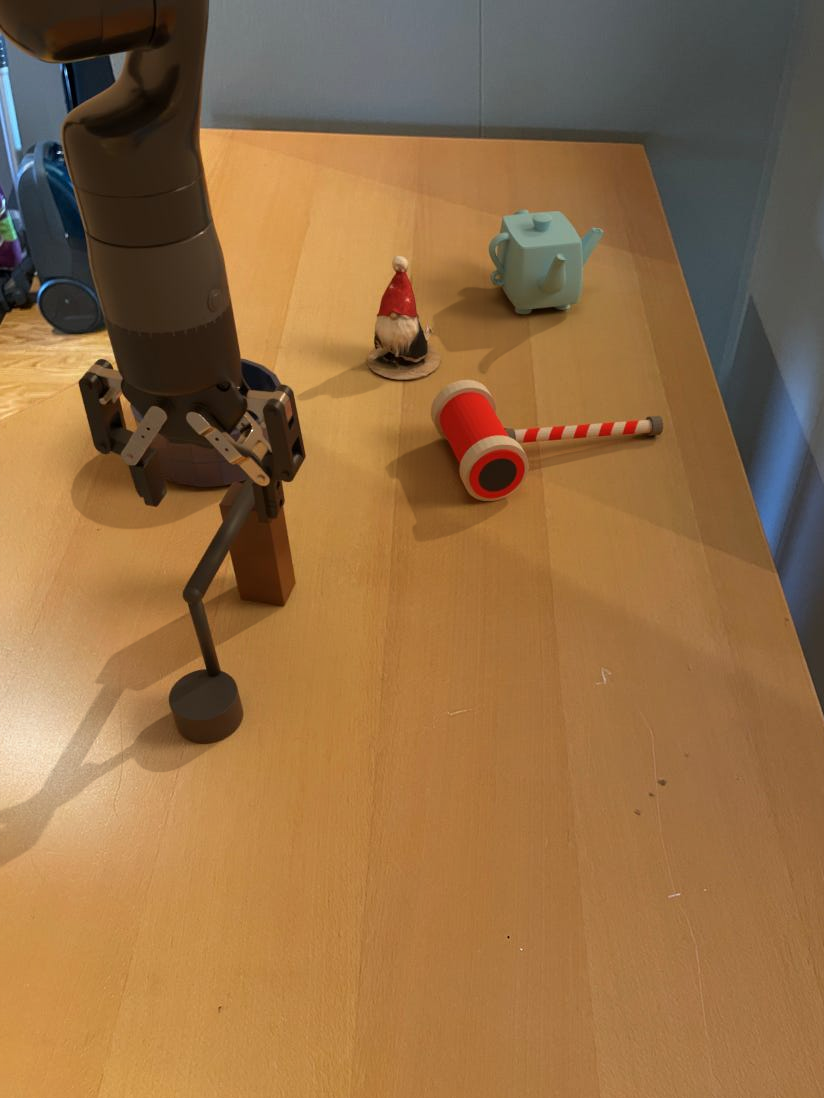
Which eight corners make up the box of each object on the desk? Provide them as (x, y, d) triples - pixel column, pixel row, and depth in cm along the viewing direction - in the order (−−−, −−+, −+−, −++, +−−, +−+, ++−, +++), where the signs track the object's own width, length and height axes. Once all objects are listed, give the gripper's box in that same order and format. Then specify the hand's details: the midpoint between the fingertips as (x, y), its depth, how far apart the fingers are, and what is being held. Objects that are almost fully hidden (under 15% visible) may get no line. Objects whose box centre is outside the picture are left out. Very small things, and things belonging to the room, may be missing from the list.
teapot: (470, 270, 124) (471, 189, 117) (574, 259, 126) (581, 180, 119) (507, 341, 112) (511, 257, 105) (621, 328, 115) (633, 245, 107)
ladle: (229, 748, 72) (199, 641, 63) (165, 737, 72) (127, 629, 64) (308, 575, 85) (292, 466, 76) (254, 567, 85) (232, 458, 77)
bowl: (120, 480, 93) (104, 427, 89) (180, 399, 103) (168, 348, 98) (260, 501, 91) (251, 448, 87) (308, 417, 101) (302, 366, 97)
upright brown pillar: (239, 599, 82) (218, 504, 75) (252, 575, 84) (232, 481, 77) (284, 606, 82) (267, 512, 74) (296, 582, 84) (280, 488, 76)
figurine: (394, 369, 100) (355, 262, 101) (374, 404, 110) (339, 305, 110) (465, 352, 103) (427, 247, 103) (440, 387, 113) (405, 290, 113)
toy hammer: (634, 402, 104) (642, 349, 99) (682, 466, 97) (694, 411, 92) (430, 438, 99) (429, 383, 94) (464, 508, 91) (465, 452, 87)
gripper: (300, 281, 59) (324, 491, 71) (84, 253, 61) (142, 463, 73) (256, 343, 54) (289, 558, 66) (22, 311, 56) (95, 526, 68)
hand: (212, 508), depth 69 cm, fingers open, 8 cm apart
